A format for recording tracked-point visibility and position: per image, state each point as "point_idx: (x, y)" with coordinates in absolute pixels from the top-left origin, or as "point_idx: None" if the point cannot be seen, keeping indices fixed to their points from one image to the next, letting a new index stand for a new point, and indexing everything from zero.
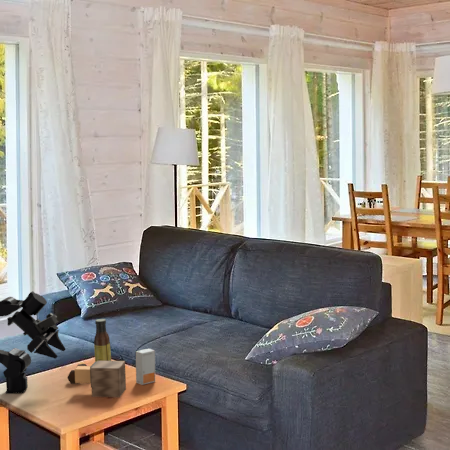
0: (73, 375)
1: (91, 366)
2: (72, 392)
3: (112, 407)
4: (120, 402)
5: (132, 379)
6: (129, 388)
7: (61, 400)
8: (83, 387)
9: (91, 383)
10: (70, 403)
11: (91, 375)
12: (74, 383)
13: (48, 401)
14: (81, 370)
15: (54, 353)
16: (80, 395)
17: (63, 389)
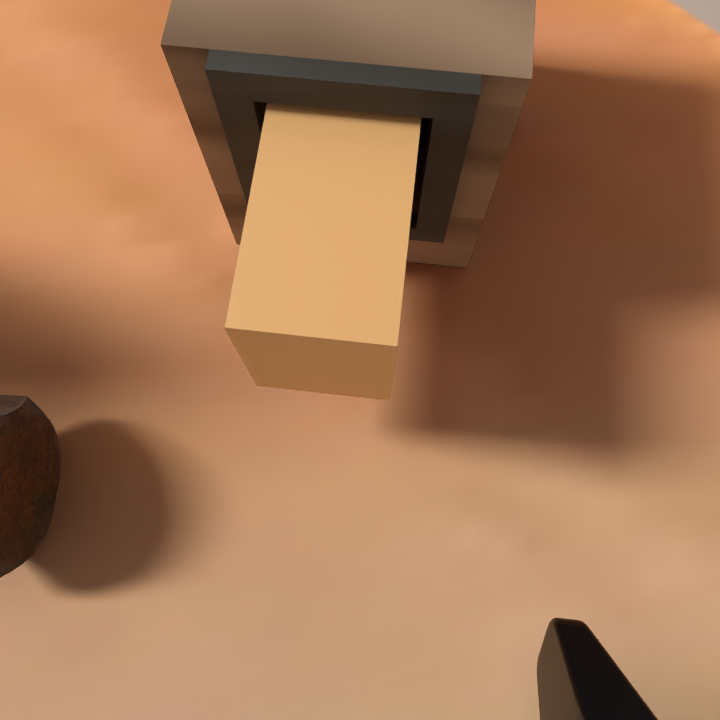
0: (2, 498)
1: (458, 81)
2: (331, 468)
3: (717, 81)
4: (600, 42)
5: (29, 19)
6: None
7: (572, 533)
8: (186, 387)
9: (489, 201)
10: (652, 426)
11: (508, 143)
12: (51, 499)
13: None
14: (406, 257)
15: (653, 715)
16: (425, 374)
17: (224, 586)
